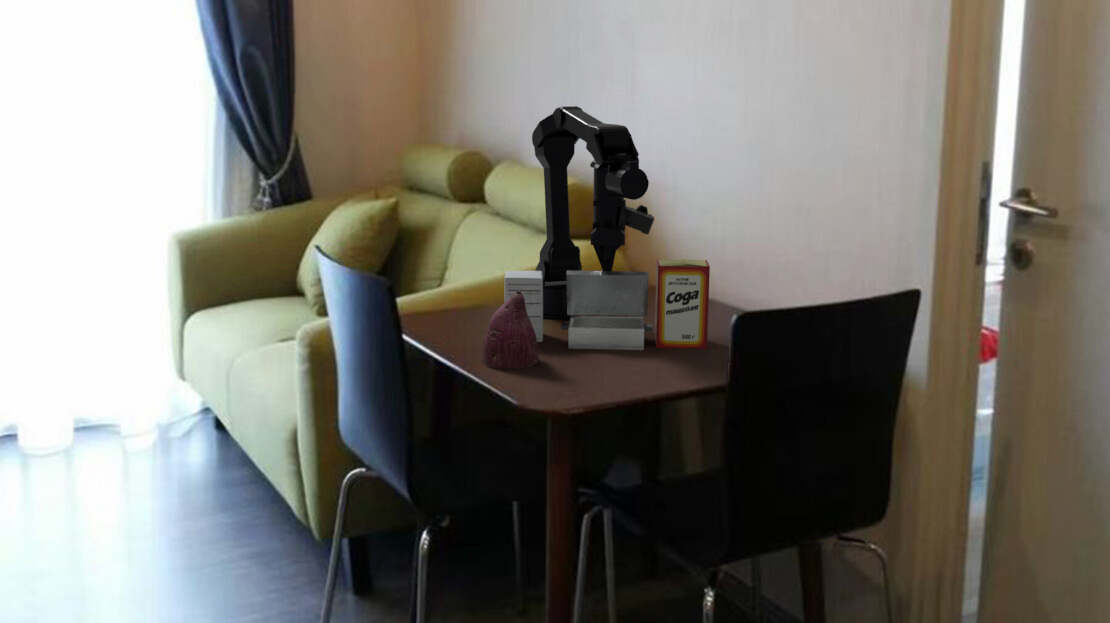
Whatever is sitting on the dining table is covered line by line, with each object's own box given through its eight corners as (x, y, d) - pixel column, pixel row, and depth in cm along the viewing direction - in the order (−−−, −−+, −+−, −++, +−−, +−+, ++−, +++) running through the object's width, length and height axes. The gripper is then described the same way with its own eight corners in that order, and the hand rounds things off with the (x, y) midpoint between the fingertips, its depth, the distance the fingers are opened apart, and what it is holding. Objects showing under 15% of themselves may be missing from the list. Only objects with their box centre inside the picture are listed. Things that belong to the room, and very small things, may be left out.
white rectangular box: (559, 348, 224) (560, 327, 223) (562, 336, 234) (562, 316, 233) (652, 350, 223) (652, 329, 222) (651, 337, 233) (651, 317, 232)
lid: (566, 274, 226) (566, 267, 227) (567, 316, 233) (567, 309, 234) (648, 275, 225) (648, 268, 227) (647, 318, 232) (647, 310, 233)
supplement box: (505, 333, 236) (504, 270, 233) (543, 333, 236) (543, 270, 233) (504, 342, 229) (503, 277, 226) (543, 342, 229) (543, 277, 226)
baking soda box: (656, 348, 225) (658, 263, 222) (654, 339, 231) (656, 257, 228) (707, 348, 225) (709, 264, 221) (704, 340, 231) (706, 258, 228)
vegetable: (545, 381, 214) (566, 304, 209) (495, 381, 209) (516, 303, 203) (517, 354, 222) (537, 280, 217) (468, 354, 217) (487, 278, 211)
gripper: (653, 200, 215) (651, 286, 218) (651, 188, 233) (649, 268, 236) (591, 199, 215) (590, 285, 218) (593, 188, 233) (592, 267, 237)
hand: (607, 276), depth 227 cm, fingers closed
